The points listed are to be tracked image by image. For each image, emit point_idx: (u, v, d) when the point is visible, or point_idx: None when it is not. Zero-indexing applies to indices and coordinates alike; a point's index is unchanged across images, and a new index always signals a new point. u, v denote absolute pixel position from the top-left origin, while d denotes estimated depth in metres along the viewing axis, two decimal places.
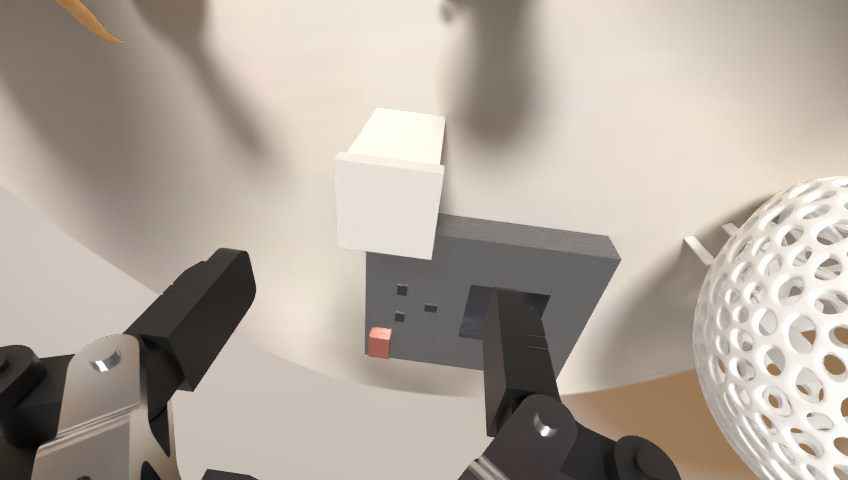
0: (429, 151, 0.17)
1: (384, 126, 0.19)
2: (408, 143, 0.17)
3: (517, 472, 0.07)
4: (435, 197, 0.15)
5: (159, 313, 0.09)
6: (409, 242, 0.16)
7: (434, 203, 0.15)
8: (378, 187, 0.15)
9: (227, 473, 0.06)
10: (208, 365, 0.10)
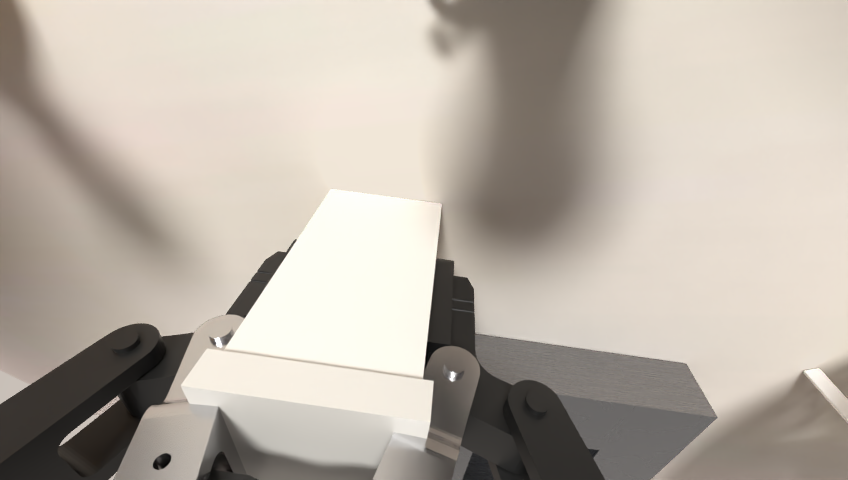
0: (406, 314, 0.08)
1: (331, 238, 0.11)
2: (367, 291, 0.09)
3: (438, 420, 0.07)
4: None
5: (257, 297, 0.10)
6: None
7: None
8: (289, 429, 0.07)
9: (227, 473, 0.06)
10: None
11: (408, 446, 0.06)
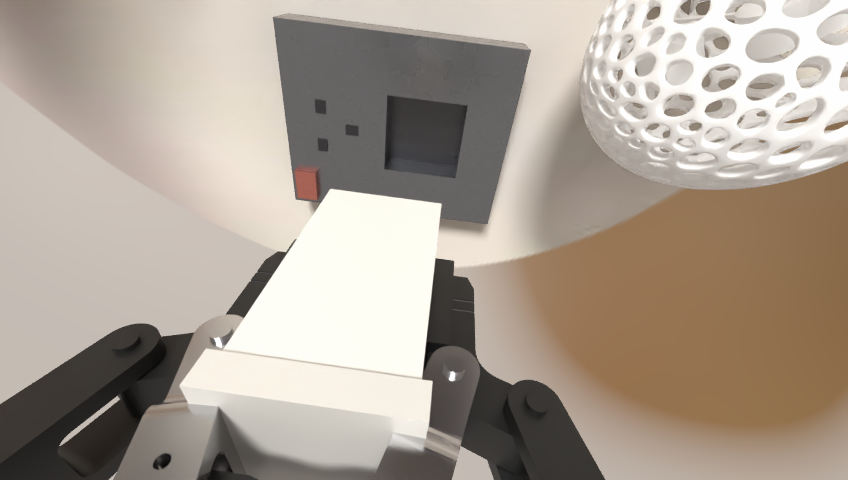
0: (405, 314, 0.08)
1: (331, 238, 0.11)
2: (366, 291, 0.09)
3: (438, 420, 0.07)
4: None
5: (257, 297, 0.10)
6: None
7: None
8: (288, 429, 0.07)
9: (227, 473, 0.06)
10: None
11: (408, 446, 0.06)
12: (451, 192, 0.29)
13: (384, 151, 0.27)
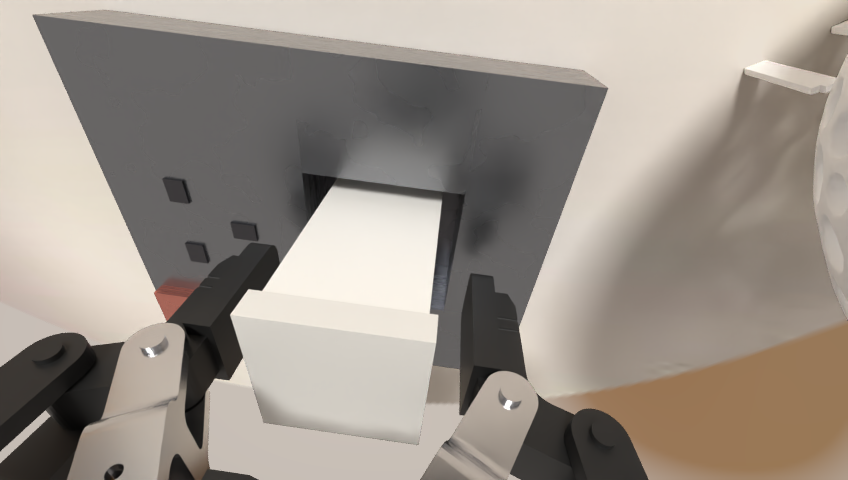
0: (414, 267, 0.10)
1: (346, 208, 0.12)
2: (379, 250, 0.10)
3: (486, 447, 0.07)
4: (421, 373, 0.08)
5: (199, 304, 0.09)
6: (380, 424, 0.10)
7: (420, 381, 0.08)
8: (318, 355, 0.08)
9: (227, 473, 0.06)
10: (242, 355, 0.11)
11: (452, 468, 0.06)
12: (437, 330, 0.16)
13: None
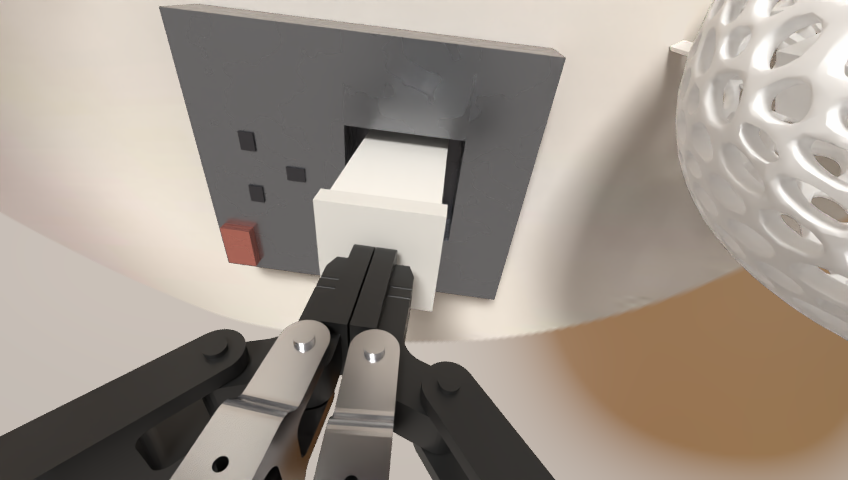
0: (429, 184, 0.14)
1: (377, 151, 0.16)
2: (404, 174, 0.14)
3: (368, 402, 0.08)
4: (436, 243, 0.12)
5: (330, 303, 0.10)
6: None
7: (435, 250, 0.13)
8: (367, 231, 0.12)
9: None
10: None
11: (343, 435, 0.06)
12: (443, 258, 0.20)
13: None
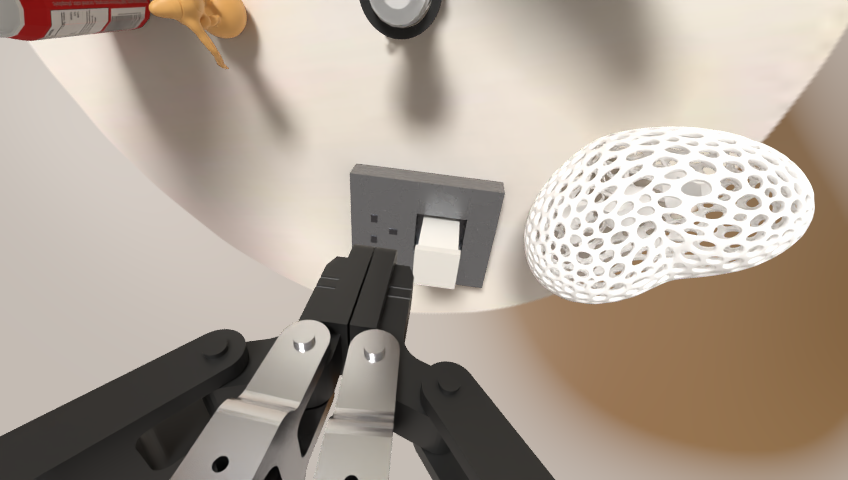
0: (453, 240, 0.37)
1: (430, 224, 0.39)
2: (443, 236, 0.37)
3: (368, 402, 0.08)
4: (456, 264, 0.35)
5: (329, 303, 0.10)
6: (444, 281, 0.37)
7: (456, 266, 0.35)
8: (432, 259, 0.35)
9: None
10: None
11: (343, 435, 0.06)
12: None
13: (413, 243, 0.42)
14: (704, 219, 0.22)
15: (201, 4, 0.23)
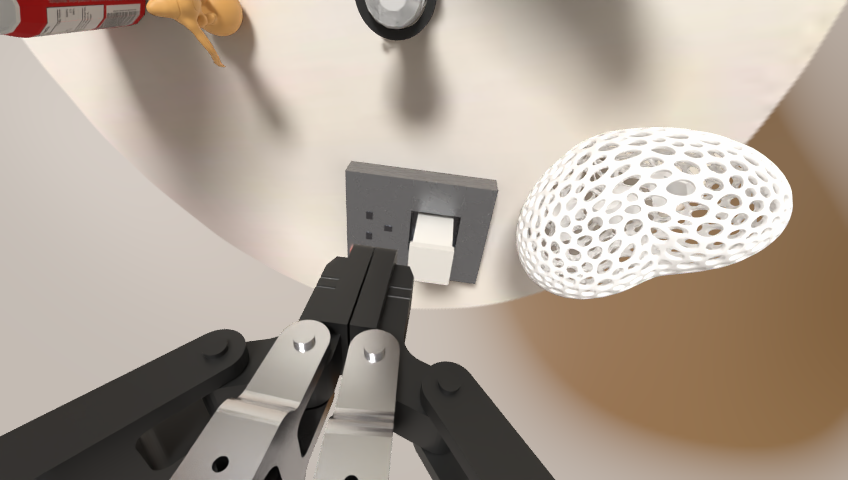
0: (447, 237, 0.38)
1: (425, 221, 0.40)
2: (437, 233, 0.38)
3: (368, 402, 0.07)
4: (450, 260, 0.36)
5: (330, 303, 0.10)
6: (438, 277, 0.37)
7: (450, 262, 0.36)
8: (427, 256, 0.36)
9: None
10: None
11: (343, 435, 0.06)
12: None
13: (408, 240, 0.42)
14: (688, 217, 0.23)
15: (198, 4, 0.24)
